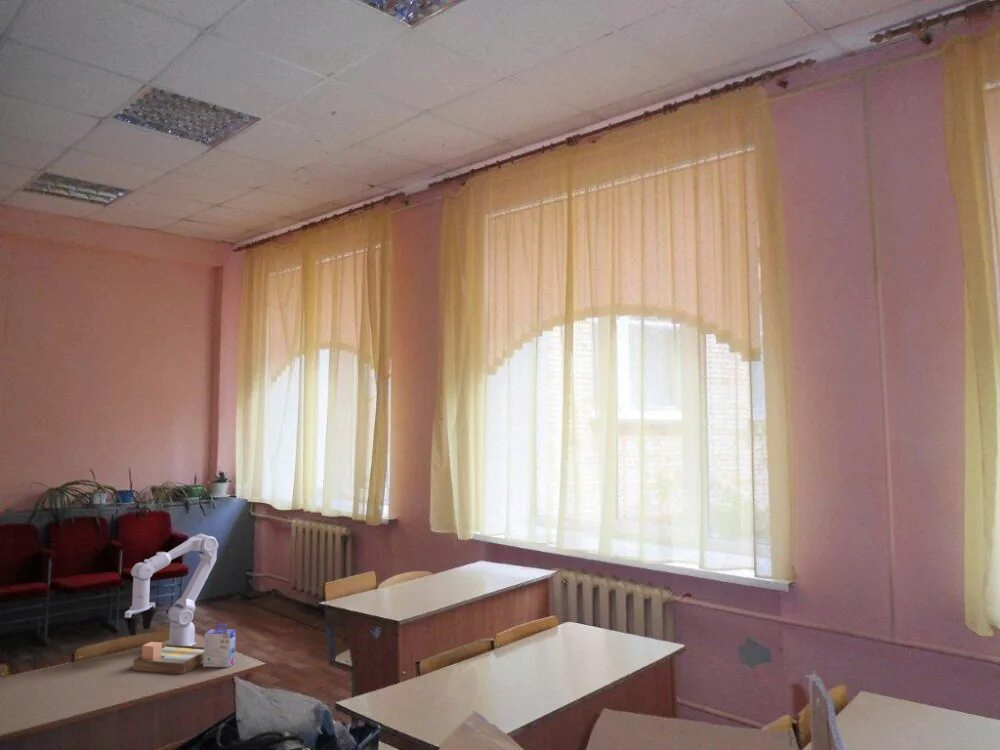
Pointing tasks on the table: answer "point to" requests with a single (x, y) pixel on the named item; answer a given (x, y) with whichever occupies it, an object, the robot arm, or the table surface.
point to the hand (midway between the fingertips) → (139, 631)
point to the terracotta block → (152, 651)
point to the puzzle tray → (169, 664)
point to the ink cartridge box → (219, 647)
